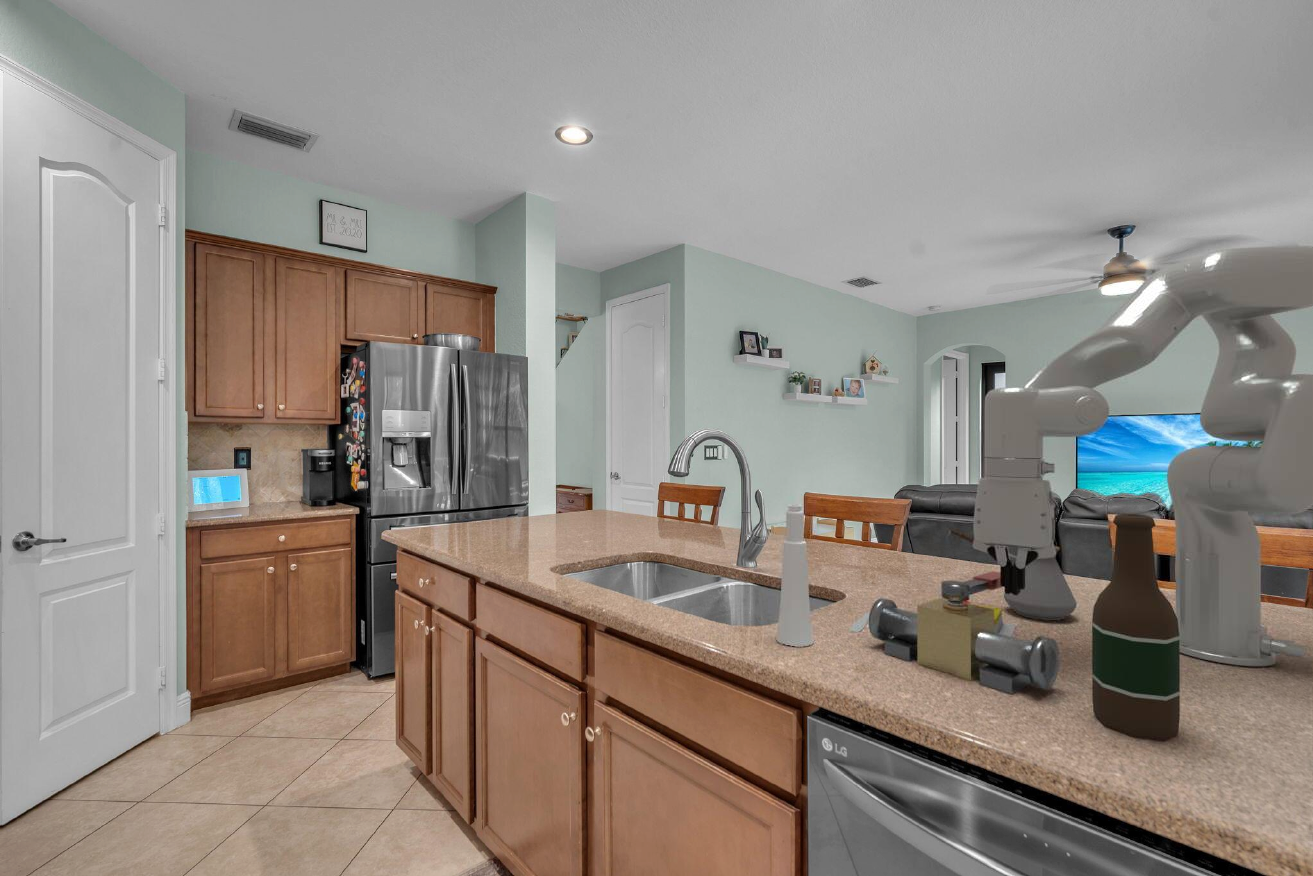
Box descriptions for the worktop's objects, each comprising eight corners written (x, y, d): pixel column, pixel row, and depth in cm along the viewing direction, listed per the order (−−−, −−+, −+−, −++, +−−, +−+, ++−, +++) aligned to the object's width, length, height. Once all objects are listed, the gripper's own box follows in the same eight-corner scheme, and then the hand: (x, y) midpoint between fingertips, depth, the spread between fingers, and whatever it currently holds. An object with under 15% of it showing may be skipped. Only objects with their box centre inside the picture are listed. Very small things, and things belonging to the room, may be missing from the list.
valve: (1060, 688, 78) (1060, 615, 78) (1037, 702, 74) (1037, 625, 74) (892, 639, 97) (892, 581, 97) (867, 648, 93) (867, 587, 93)
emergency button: (925, 590, 113) (1016, 603, 104) (925, 613, 113) (1017, 628, 104) (913, 601, 106) (1010, 615, 97) (913, 625, 106) (1011, 642, 97)
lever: (1014, 585, 93) (1014, 572, 93) (961, 602, 83) (961, 588, 83) (990, 580, 96) (990, 568, 96) (936, 596, 86) (936, 583, 86)
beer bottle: (1075, 710, 71) (1075, 511, 72) (1135, 708, 72) (1135, 510, 72) (1132, 743, 64) (1132, 520, 64) (1199, 740, 64) (1198, 519, 64)
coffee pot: (1072, 611, 113) (1072, 532, 113) (1081, 627, 103) (1081, 541, 103) (947, 597, 123) (947, 524, 123) (944, 610, 113) (944, 532, 113)
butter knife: (841, 628, 102) (859, 630, 100) (873, 595, 125) (888, 596, 123) (841, 632, 102) (859, 634, 100) (874, 598, 125) (889, 599, 123)
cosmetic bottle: (803, 633, 100) (803, 502, 100) (820, 645, 94) (820, 506, 94) (769, 636, 99) (769, 503, 99) (785, 648, 93) (785, 507, 93)
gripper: (1076, 471, 87) (1076, 596, 87) (964, 467, 97) (964, 580, 97) (1070, 473, 81) (1070, 607, 81) (952, 469, 91) (951, 589, 91)
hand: (1012, 592), depth 89 cm, fingers closed
